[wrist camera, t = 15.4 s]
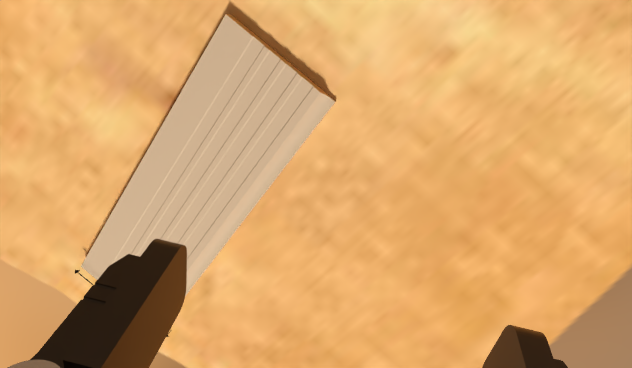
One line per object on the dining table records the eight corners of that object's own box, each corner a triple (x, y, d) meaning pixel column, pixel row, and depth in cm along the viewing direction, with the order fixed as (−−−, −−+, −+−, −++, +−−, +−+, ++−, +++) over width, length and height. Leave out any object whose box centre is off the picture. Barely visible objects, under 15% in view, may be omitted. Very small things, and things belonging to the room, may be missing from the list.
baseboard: (352, 112, 35) (234, 14, 35) (344, 119, 33) (216, 13, 32) (177, 330, 48) (90, 259, 48) (161, 348, 46) (70, 273, 46)
